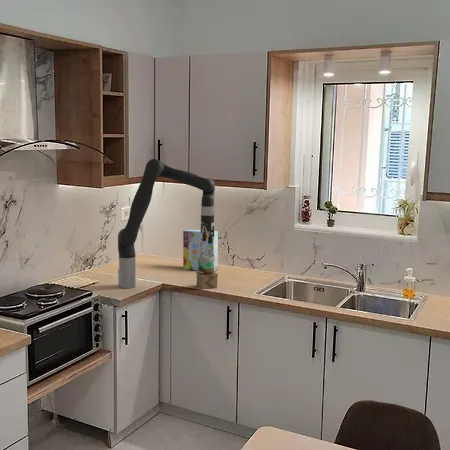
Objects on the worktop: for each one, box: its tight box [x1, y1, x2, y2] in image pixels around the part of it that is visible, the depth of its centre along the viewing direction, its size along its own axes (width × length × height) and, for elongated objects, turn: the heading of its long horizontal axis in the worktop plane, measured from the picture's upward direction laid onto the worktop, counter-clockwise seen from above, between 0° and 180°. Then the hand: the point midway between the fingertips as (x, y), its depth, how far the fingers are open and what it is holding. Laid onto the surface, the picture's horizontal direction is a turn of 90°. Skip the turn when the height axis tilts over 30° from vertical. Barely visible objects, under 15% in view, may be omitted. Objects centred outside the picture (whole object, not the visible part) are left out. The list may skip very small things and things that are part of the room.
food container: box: [197, 255, 215, 275], centre depth 323 cm, size 12×6×10 cm, turn 137°
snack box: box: [182, 228, 219, 272], centre depth 367 cm, size 22×9×26 cm, turn 70°
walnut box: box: [195, 271, 219, 290], centre depth 325 cm, size 10×10×8 cm
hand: (207, 242), depth 322 cm, fingers open, 8 cm apart
